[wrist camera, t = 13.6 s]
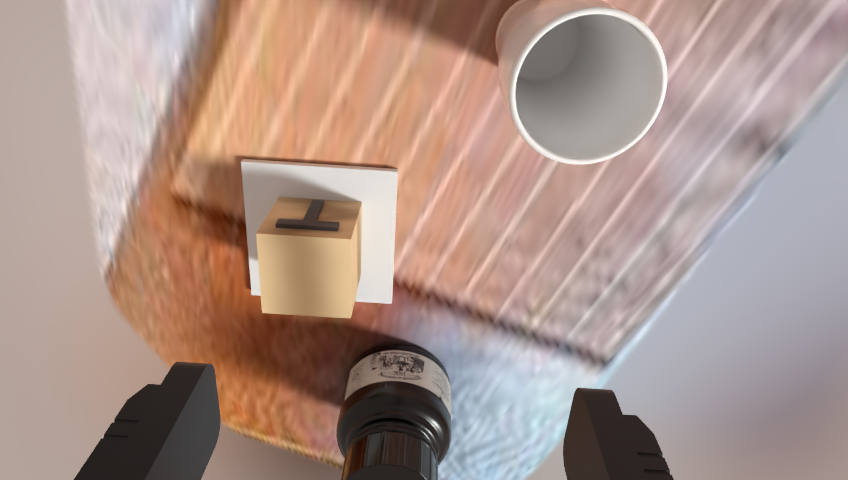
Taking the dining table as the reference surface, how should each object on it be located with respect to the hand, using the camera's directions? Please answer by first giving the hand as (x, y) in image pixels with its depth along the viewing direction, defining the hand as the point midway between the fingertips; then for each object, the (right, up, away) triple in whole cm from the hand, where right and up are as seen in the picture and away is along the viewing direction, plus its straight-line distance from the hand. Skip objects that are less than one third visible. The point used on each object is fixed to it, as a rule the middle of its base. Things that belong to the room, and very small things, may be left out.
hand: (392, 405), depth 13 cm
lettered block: (-7, +4, +31) cm, 32 cm away
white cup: (+8, +17, +25) cm, 31 cm away
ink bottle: (-1, -8, +38) cm, 39 cm away
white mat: (-7, +4, +32) cm, 33 cm away
